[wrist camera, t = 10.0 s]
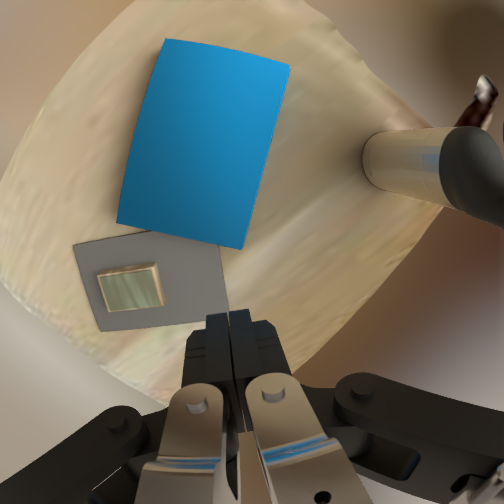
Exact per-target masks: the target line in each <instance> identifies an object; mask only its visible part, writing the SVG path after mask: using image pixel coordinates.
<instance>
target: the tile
mask: <svg viewBox="0 0 504 504" xmlns="http://www.w3.org/2000/svg"><path fill="white" fill-rule="evenodd" d="M97 277H98V281H99V284H100V287H101V290H102V294H103V297H104V300H105V303H106V306H107V309H108V312H115V311H124V310H133V309H142V308H150V307H158V306H164V304H165V301H166V298H165V295H164V291H163V287H162V283H161V279H160V274H159V270H158V266H157V262H153V263H147V264H140V265H134V266H127V267H121V268H115V269H108V270H102V271H101V272H100V273H99V274H98V275H97Z"/></svg>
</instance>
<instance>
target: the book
mask: <svg viewBox="0 0 504 504" xmlns="http://www.w3.org/2000/svg"><path fill="white" fill-rule="evenodd" d="M289 73H290V65H288V64H284V63H281V62H278V61H275V60H271V59H268V58H264V57H260V56H257V55H253V54H249V53H245V52H241V51H236V50H232V49H227V48H223V47H218V46H213V45H207V44H202V43H196V42H189V41H182V40H175V39H166V38H165V41H164V43H163V46H162V48H161V51H160V54H159V56H158V59H157V62H156V65H155V67H154V70H153V73H152V76H151V79H150V82H149V85H148V88H147V91H146V94H145V97H144V101H143V104H142V107H141V111H140V114H139V118H138V121H137V125H136V129H135V133H134V136H133V140H132V145H131V149H130V153H129V157H128V162H127V166H126V171H125V176H124V181H123V186H122V191H121V197H120V202H119V208H118V214H117V221H116V223H118V224H123V225H128V226H132V227H137V228H142V229H146V230H151V231H156V232H160V233H165V234H169V235H174V236H179V237H183V238H188V239H193V240H197V241H202V242H207V243H211V244H216V245H220V246H225V247H230V248H234V249H239V250H241V249H242V248H243V247H244V243H245V239H246V235H247V231H248V227H249V223H250V220H251V216H252V212H253V208H254V204H255V200H256V196H257V193H258V189H259V185H260V181H261V177H262V174H263V170H264V166H265V162H266V158H267V155H268V151H269V147H270V143H271V140H272V136H273V132H274V128H275V125H276V121H277V117H278V114H279V110H280V106H281V102H282V99H283V95H284V91H285V88H286V84H287V80H288V77H289Z"/></svg>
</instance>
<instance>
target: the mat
mask: <svg viewBox="0 0 504 504" xmlns="http://www.w3.org/2000/svg"><path fill="white" fill-rule="evenodd" d="M73 248H74V252H75V255H76V259H77V263H78V266H79V270H80V273H81V276H82V280H83V283H84V286H85V289H86V292H87V295H88V298H89V301H90V304H91V307H92V310H93V312H94V315H95V318H96V320H97V323H98V326H99V328H100V331H101V332H107V331H119V330H130V329H140V328H150V327H159V326H168V325H177V324H185V323H193V322H200V321H206V315H210V314H217V313H224V312H227V315H228V318H229V313H228V312H229V306H228V300H227V294H226V289H225V283H224V277H223V271H222V265H221V259H220V252H219V246H218V245H216V244H211V243H207V242H202V241H197V240H193V239H188V238H183V237H179V236H174V235H169V234H165V233H160V232H156V231H145V232H140V233H134V234H129V235H123V236H118V237H112V238H107V239H102V240H96V241H91V242H86V243H81V244H76V245H74V246H73ZM153 262H157V266H158V270H159V274H160V279H161V283H162V287H163V291H164V295H165V298H166V301H165V304H164V306H158V307H150V308H142V309H133V310H124V311H115V312H108V309H107V306H106V303H105V300H104V297H103V294H102V290H101V287H100V284H99V281H98V277H97V275H98V274H99V273H100V272H101V271H102V270H108V269H115V268H121V267H127V266H134V265H140V264H147V263H153Z"/></svg>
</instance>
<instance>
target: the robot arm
mask: <svg viewBox="0 0 504 504" xmlns="http://www.w3.org/2000/svg"><path fill="white" fill-rule="evenodd" d="M503 140H504V123H503ZM362 163H363V169H364V172H365V174H366V176H367V178H368V180H369V181H370V182H371V183H372V184H373V185H374V186H376V187H377V188H379V189H382V190H386V191H390V192H394V193H398V194H402V195H406V196H410V197H414V198H418V199H421V200H425V201H429V202H432V203H436V204H440V205H443V206H447V207H451V208H454V209H457V210H460V211H464V212H466V213H467V214H468V215H470V216H472V217H475V218H477V219H480V220H483V221H486V222H488V223H491V224H493V225H495V226H497V227H500V228H502V229H504V160H503V157H502V154H501V152H500V150H499V148H498V146H497V144H496V142H495V141H494V139H493V138H492V137H491V136H490V135H489V134H488V133H487V132H486V131H484V130H482V129H480V128H477V127H449V128H428V129H413V130H400V131H388V132H381V133H377V134H375V135H373V136H372V137H371V138H370V139H369V140H368V141H367V143H366V145H365V147H364V150H363V155H362ZM228 313H229V320H228V315H227V312H224V313H217V314H210V315H206V329H202V330H195V331H193V332H192V333H191V335H190V336H189V337H188V339H187V342H186V351H185V359H184V367H183V376H182V385H181V389H180V390H178V391H177V392H176V393H175V394H174V395H173V396H172V398H171V400H170V404H169V407H167V408H165V409H163V410H161V411H158V412H154V413H151V414H147V415H144V416H141V415H140V413H139V412H138V411H137V410H136V409H134V408H132V407H129V406H114V407H111V408H109V409H107V410H105V411H103V412H102V413H101V414H99V415H98V416H96V417H95V418H94V419H92V420H91V421H90V422H88V423H87V424H86V425H84V426H83V427H81V428H80V429H79V430H77V431H76V432H75V433H73V434H72V435H70V436H69V437H68V438H66V439H65V440H63V441H62V442H61V443H59V444H58V445H57V446H55V447H54V448H52V449H51V450H49V451H48V452H47V453H45V454H44V455H42V456H41V457H39V458H38V459H36V460H35V461H34V462H32V463H30V464H29V465H28V466H26V467H25V468H23V469H22V470H20V471H19V472H17V473H16V474H14V475H13V476H11V477H10V478H8V479H7V480H5V481H3V482H2V483H0V504H241V488H240V454H239V440H238V433H242V432H245V427H244V420H243V415H244V419H245V423H246V428H247V431H253V433H254V438H255V442H256V447H257V451H258V455H259V458H260V462H261V465H262V469H263V472H264V476H265V479H266V483H267V486H268V489H269V492H270V496H271V499H272V503H273V504H373V502H372V500H371V498H370V496H369V495H368V493H367V491H366V489H365V487H364V486H363V484H362V482H361V480H360V478H359V477H358V475H357V473H358V474H360V475H363V476H365V477H367V478H369V479H372V480H374V481H376V482H379V483H381V484H384V485H387V486H389V487H392V488H394V489H397V490H400V491H403V492H405V493H408V494H411V495H414V496H417V497H420V498H423V499H426V500H429V501H433V502H436V503H439V504H504V412H503V411H498V410H494V409H490V408H485V407H481V406H478V405H473V404H470V403H466V402H462V401H458V400H455V399H451V398H447V397H444V396H441V395H437V394H434V393H430V392H427V391H424V390H420V389H417V388H414V387H411V386H407V385H405V384H402V383H398V382H395V381H392V380H389V379H386V378H383V377H380V376H378V375H374V374H371V373H354V374H351V375H348V376H346V377H344V378H342V379H341V380H340V381H339V382H338V383H337V385H336V387H335V388H311V387H308V386H305V385H302V384H300V383H299V382H298V381H297V380H296V379H295V378H294V377H293V376H292V374H291V371H290V368H289V366H288V363H287V360H286V357H285V354H284V352H283V349H282V346H281V343H280V340H279V338H278V335H277V332H276V329H275V327H274V326H273V325H272V324H271V323H269V322H268V321H267V320H262V321H256V322H252V321H251V316H250V312H249V309H243V310H237V311H230V312H228ZM229 323H230V326H229ZM242 410H243V412H242ZM120 467H121V468H120ZM119 468H120V469H119ZM117 469H119V470H117ZM116 470H117V471H116ZM115 471H116V472H115ZM114 472H115V473H114ZM112 473H114V474H113V475H111V474H112ZM110 475H111V476H110ZM109 476H110V477H109ZM108 477H109V478H108ZM106 478H108V479H106ZM105 479H106V480H105ZM104 480H105V481H104ZM103 481H104V482H103ZM101 482H103V483H101ZM100 483H101V484H100ZM99 484H100V485H99ZM98 485H99V486H98ZM96 486H98V487H96ZM95 487H96V488H95ZM94 488H95V489H94ZM92 489H94V490H92Z"/></svg>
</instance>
